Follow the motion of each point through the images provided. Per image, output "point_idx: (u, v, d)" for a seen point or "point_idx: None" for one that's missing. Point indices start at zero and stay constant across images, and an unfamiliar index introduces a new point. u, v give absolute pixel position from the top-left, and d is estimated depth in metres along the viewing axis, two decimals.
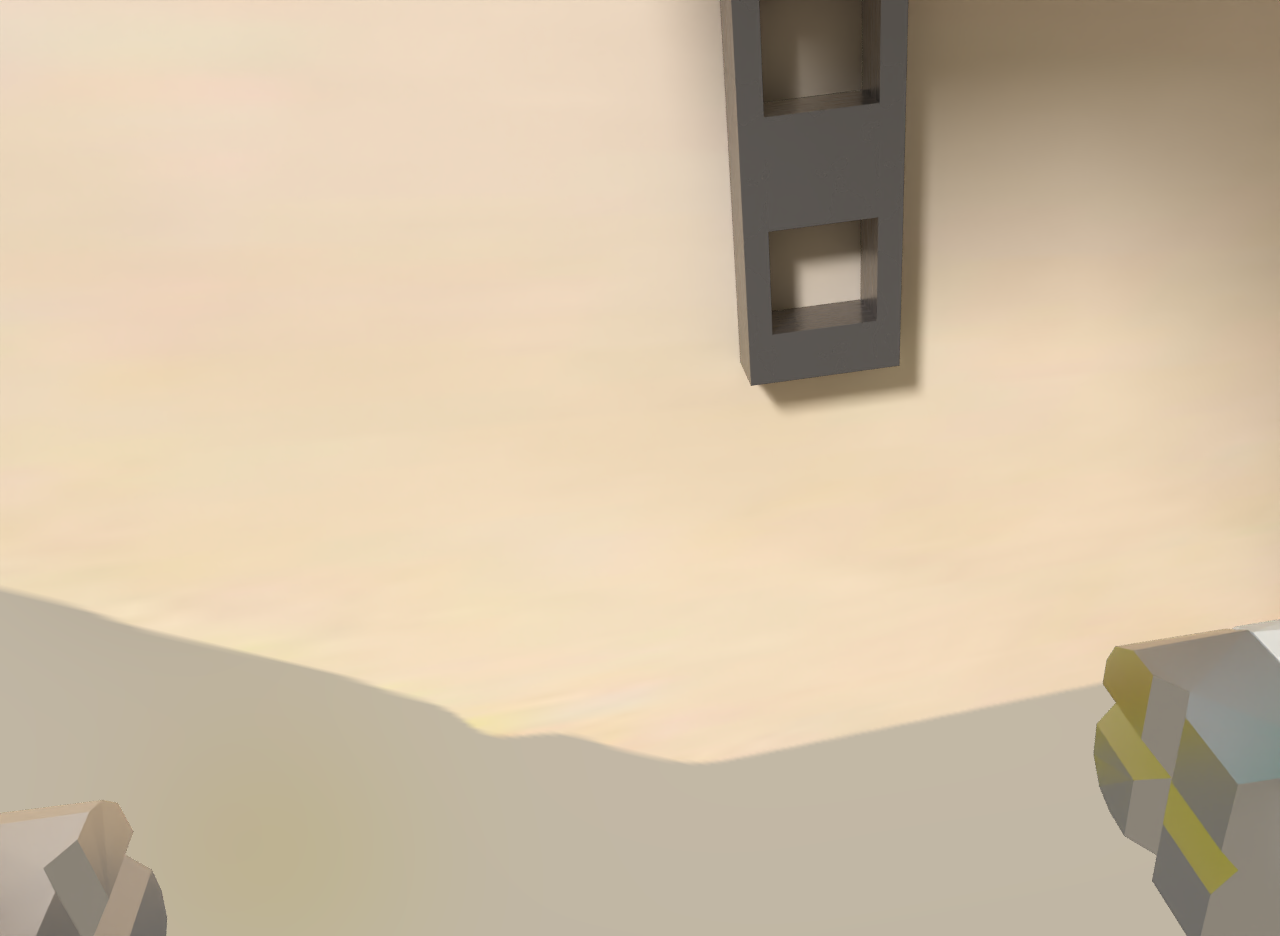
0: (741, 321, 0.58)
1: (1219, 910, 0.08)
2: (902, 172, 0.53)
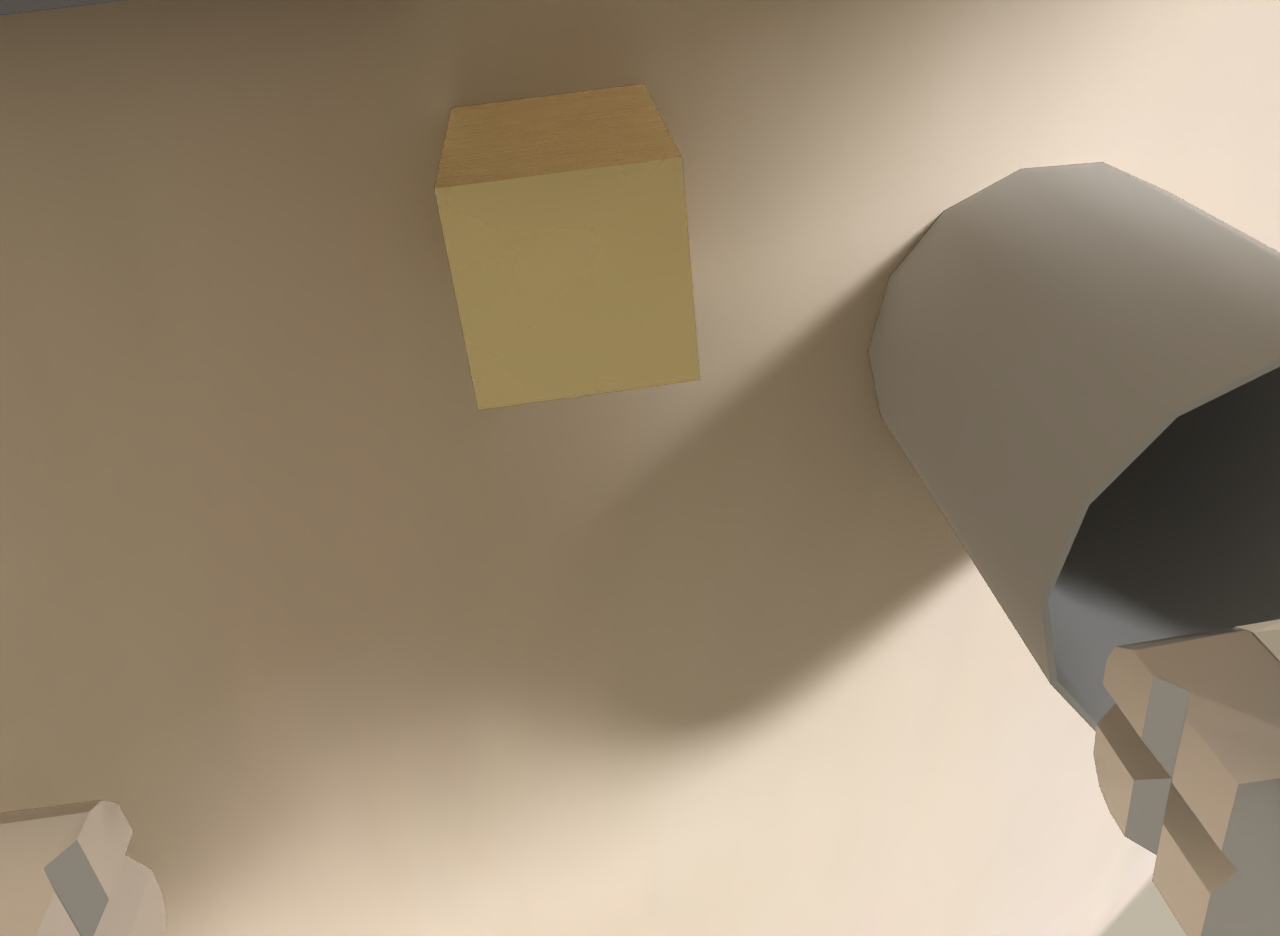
0: None
1: (1220, 910, 0.08)
2: None
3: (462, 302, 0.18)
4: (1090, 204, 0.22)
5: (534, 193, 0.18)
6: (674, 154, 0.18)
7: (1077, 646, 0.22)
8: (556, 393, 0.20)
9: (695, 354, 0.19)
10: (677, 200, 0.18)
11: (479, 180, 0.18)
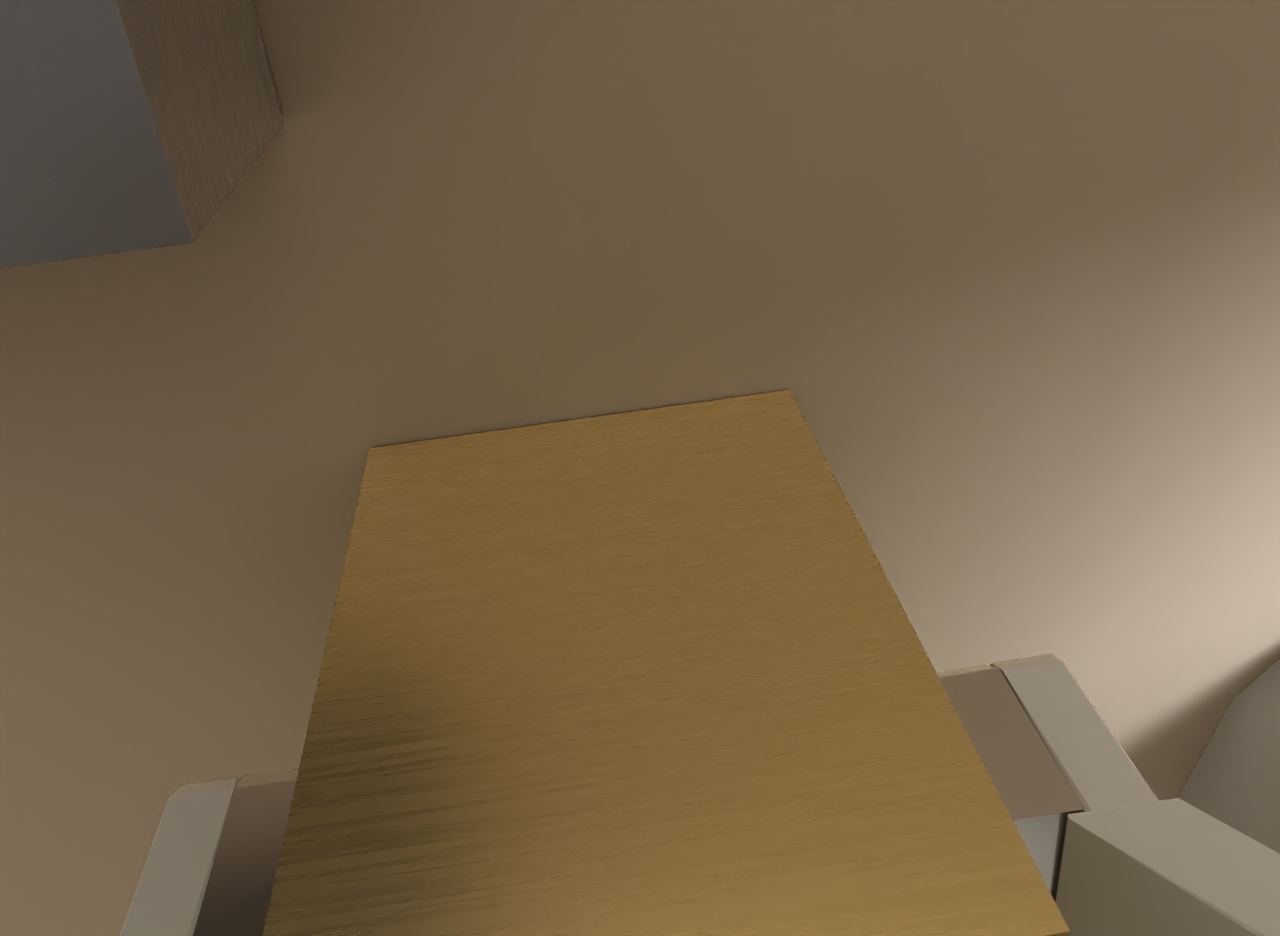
0: None
1: None
2: None
3: None
4: None
5: None
6: (1032, 897, 0.05)
7: None
8: None
9: None
10: None
11: None
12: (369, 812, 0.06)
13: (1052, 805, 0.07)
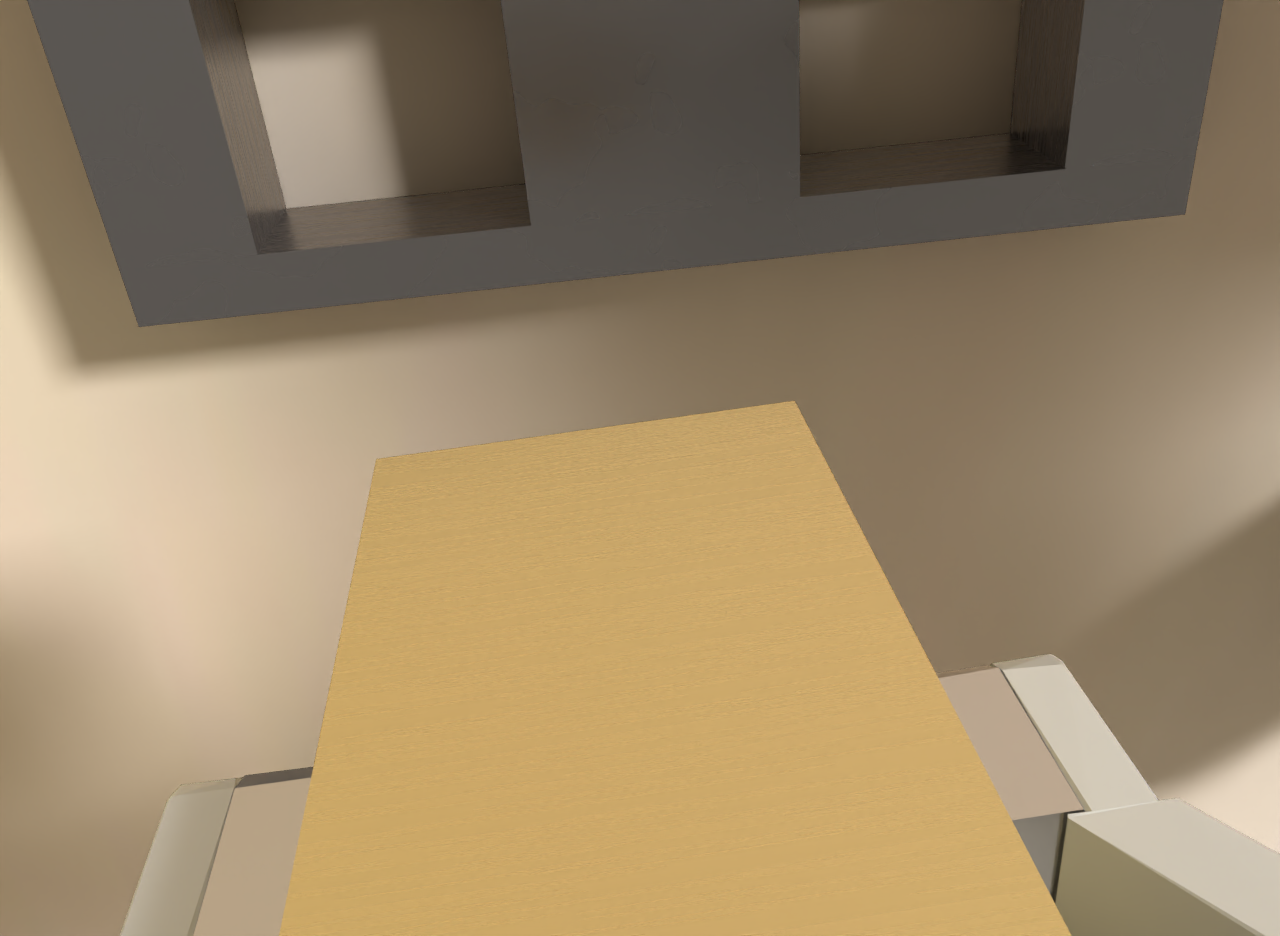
0: None
1: None
2: (637, 269, 0.23)
3: None
4: None
5: None
6: (1040, 914, 0.06)
7: None
8: None
9: None
10: None
11: None
12: (380, 827, 0.06)
13: (1052, 805, 0.07)
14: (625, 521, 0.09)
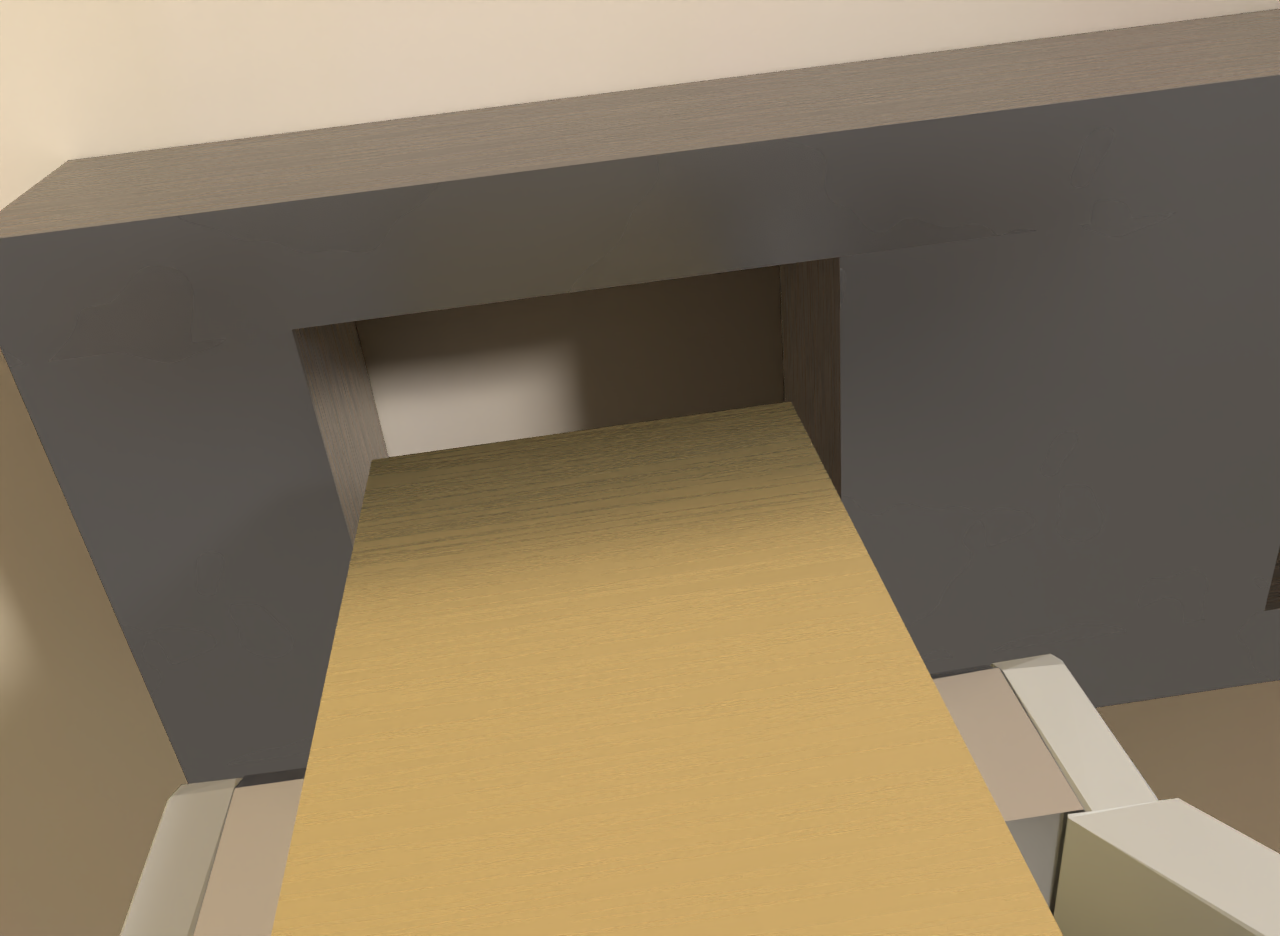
0: (304, 152, 0.12)
1: None
2: None
3: None
4: None
5: None
6: (1033, 916, 0.05)
7: None
8: None
9: None
10: None
11: None
12: (373, 828, 0.06)
13: (1052, 805, 0.07)
14: (620, 522, 0.09)
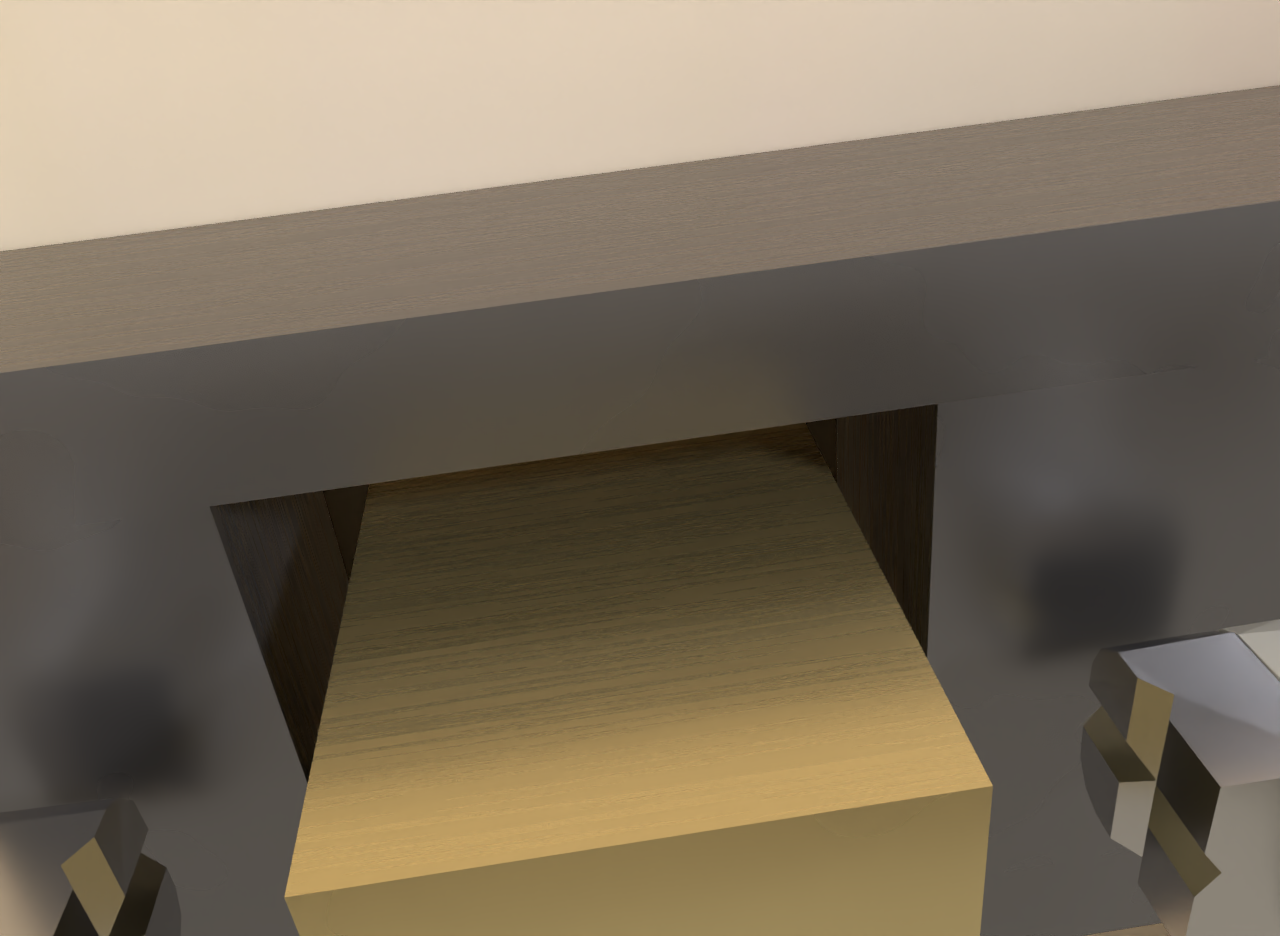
0: (233, 257, 0.09)
1: (1202, 912, 0.08)
2: (1103, 927, 0.12)
3: None
4: None
5: (573, 887, 0.06)
6: (963, 761, 0.06)
7: None
8: None
9: None
10: (964, 872, 0.07)
11: (417, 855, 0.06)
12: (393, 704, 0.07)
13: None
14: (612, 458, 0.10)
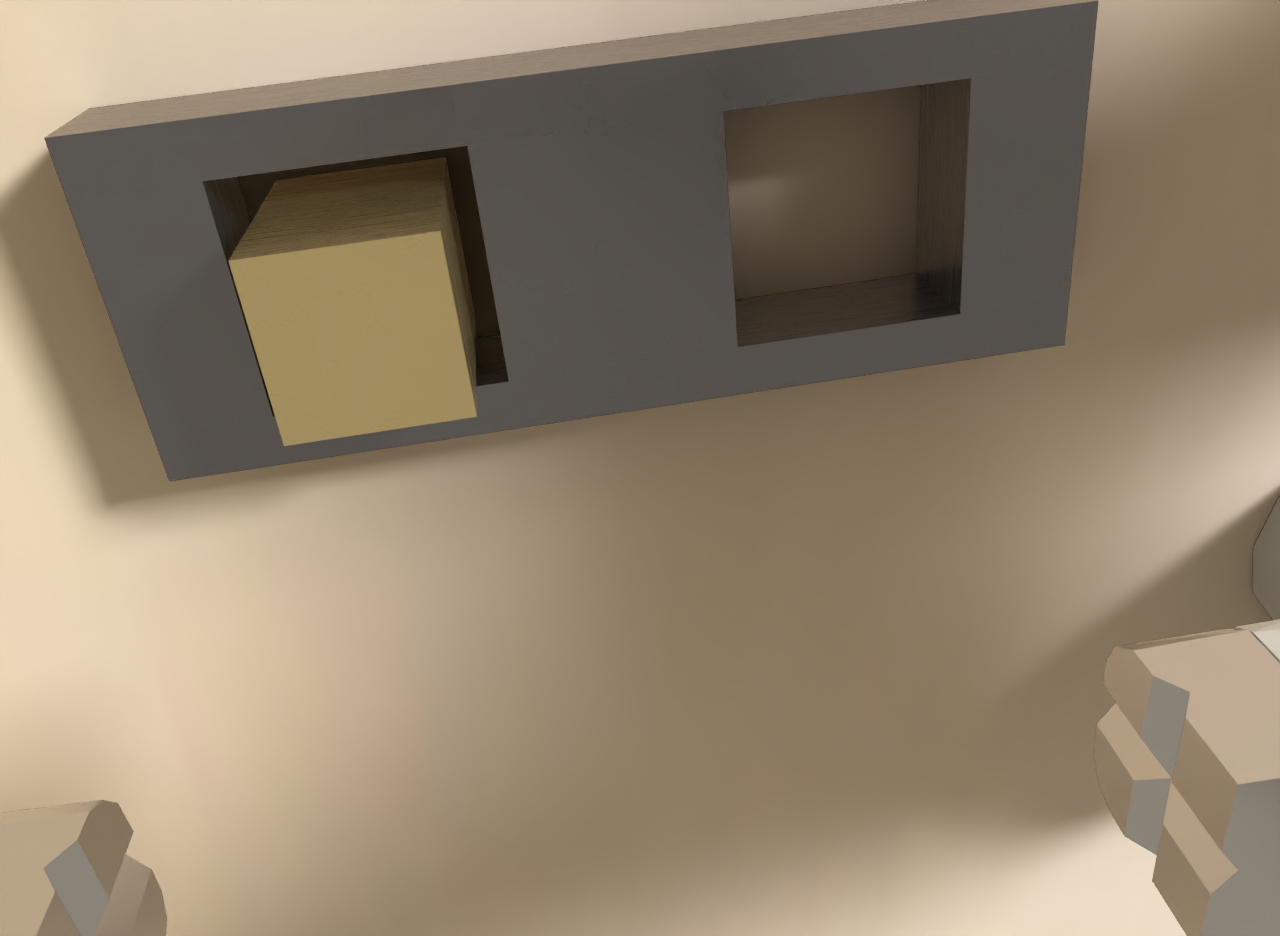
0: (210, 100, 0.24)
1: (1218, 911, 0.08)
2: (601, 412, 0.27)
3: (261, 355, 0.22)
4: None
5: (316, 263, 0.21)
6: (435, 228, 0.21)
7: None
8: (351, 430, 0.23)
9: (470, 395, 0.23)
10: (440, 266, 0.21)
11: (268, 252, 0.21)
12: (266, 234, 0.22)
13: None
14: (364, 185, 0.25)
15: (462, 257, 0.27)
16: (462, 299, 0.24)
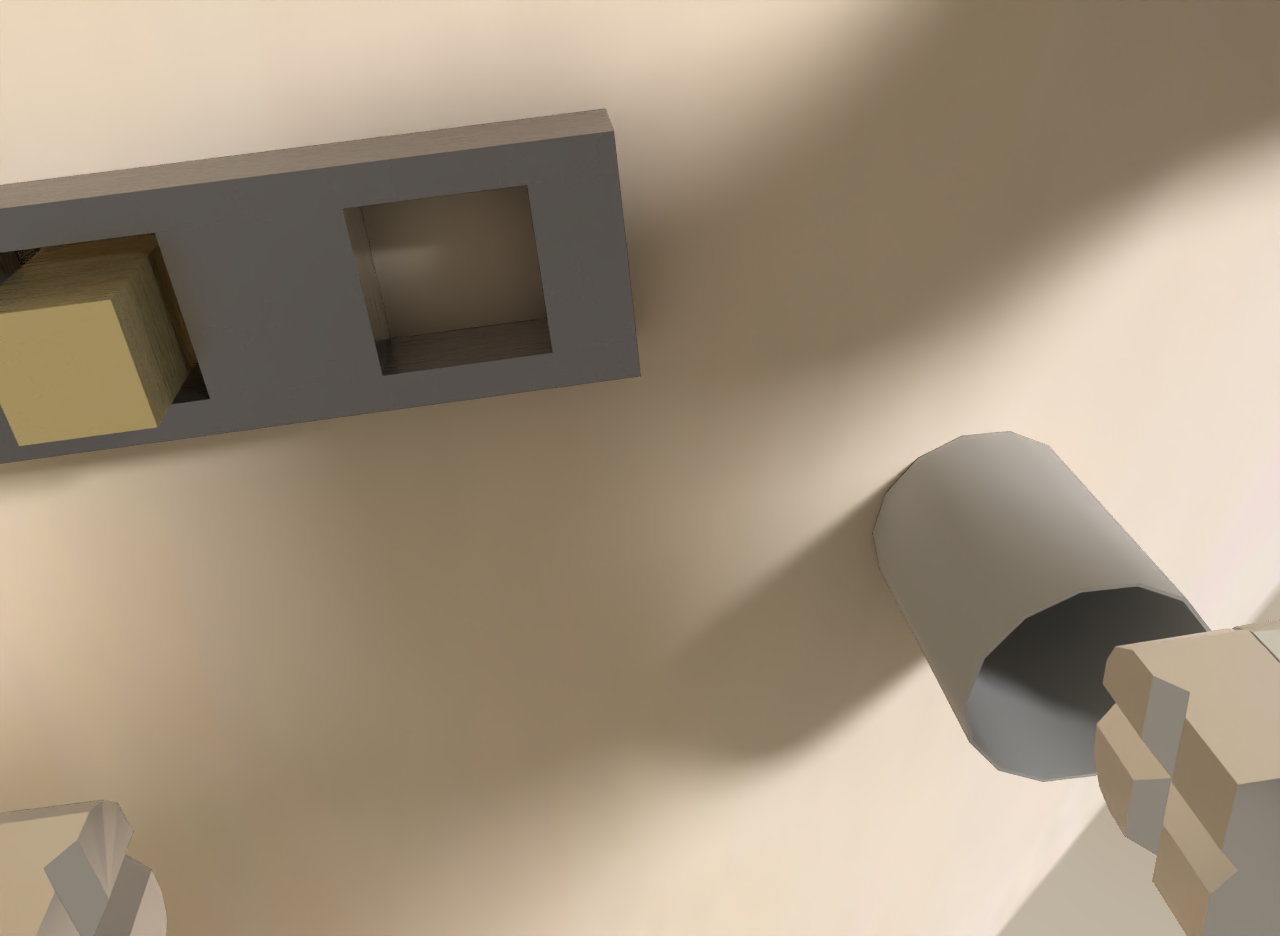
0: None
1: (1220, 910, 0.08)
2: (285, 422, 0.36)
3: None
4: (998, 471, 0.40)
5: (24, 321, 0.30)
6: (109, 297, 0.30)
7: (990, 716, 0.40)
8: (66, 436, 0.32)
9: (150, 412, 0.32)
10: (114, 323, 0.30)
11: None
12: (1, 297, 0.31)
13: None
14: (95, 256, 0.34)
15: None
16: (161, 340, 0.33)
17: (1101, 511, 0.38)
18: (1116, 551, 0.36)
